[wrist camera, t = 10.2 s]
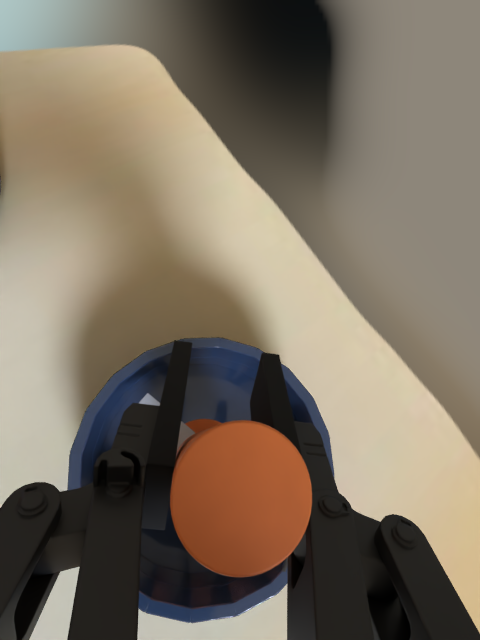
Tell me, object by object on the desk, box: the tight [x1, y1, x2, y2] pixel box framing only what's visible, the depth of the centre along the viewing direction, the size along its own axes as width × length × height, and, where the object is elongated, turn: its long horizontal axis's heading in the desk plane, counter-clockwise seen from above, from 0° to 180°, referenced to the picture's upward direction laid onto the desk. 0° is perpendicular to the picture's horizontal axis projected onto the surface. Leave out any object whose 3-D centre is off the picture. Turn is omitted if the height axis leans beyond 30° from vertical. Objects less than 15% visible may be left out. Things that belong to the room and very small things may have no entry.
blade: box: [139, 393, 312, 577], centre depth 15 cm, size 9×4×14 cm, turn 52°
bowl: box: [68, 337, 334, 623], centre depth 22 cm, size 13×13×6 cm
